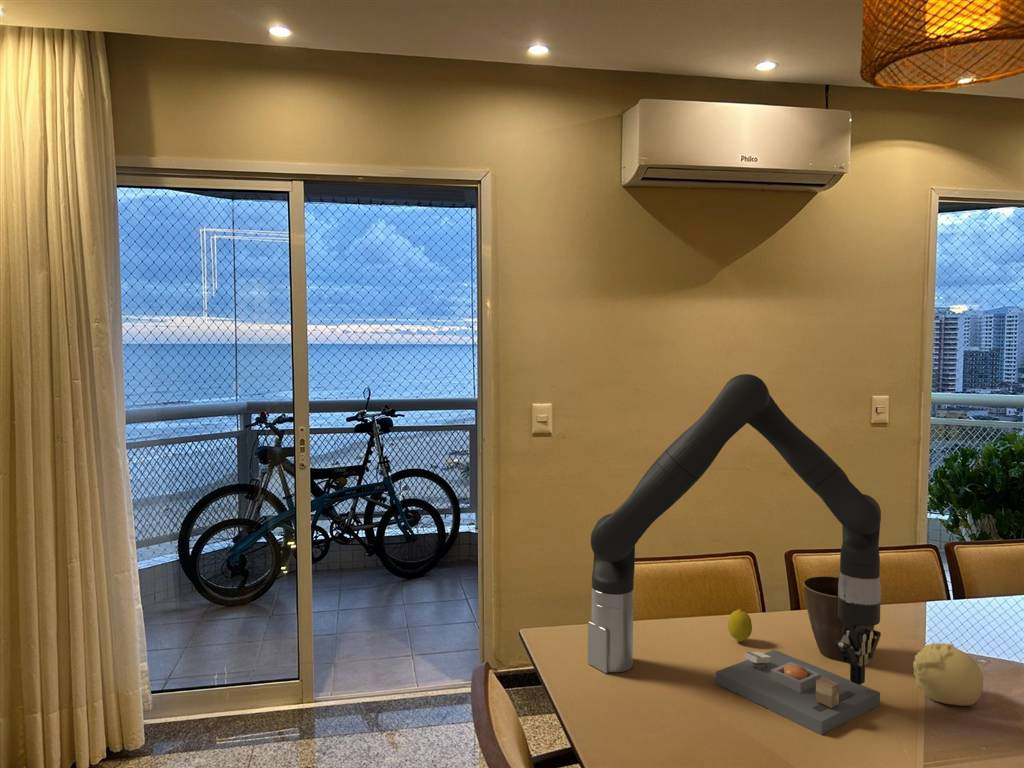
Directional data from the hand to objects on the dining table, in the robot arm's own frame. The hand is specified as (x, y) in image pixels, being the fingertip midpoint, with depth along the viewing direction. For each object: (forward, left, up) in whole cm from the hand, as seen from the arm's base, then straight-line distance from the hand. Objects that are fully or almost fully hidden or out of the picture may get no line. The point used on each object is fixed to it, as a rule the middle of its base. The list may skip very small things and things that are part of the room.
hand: (857, 682), depth 137 cm
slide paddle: (-10, 0, -1) cm, 10 cm away
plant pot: (+18, +15, -4) cm, 24 cm away
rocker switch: (-7, +18, 0) cm, 19 cm away
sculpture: (+17, -9, -4) cm, 20 cm away
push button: (-7, +9, -1) cm, 11 cm away
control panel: (-7, +9, -4) cm, 12 cm away
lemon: (+5, +32, -4) cm, 33 cm away
